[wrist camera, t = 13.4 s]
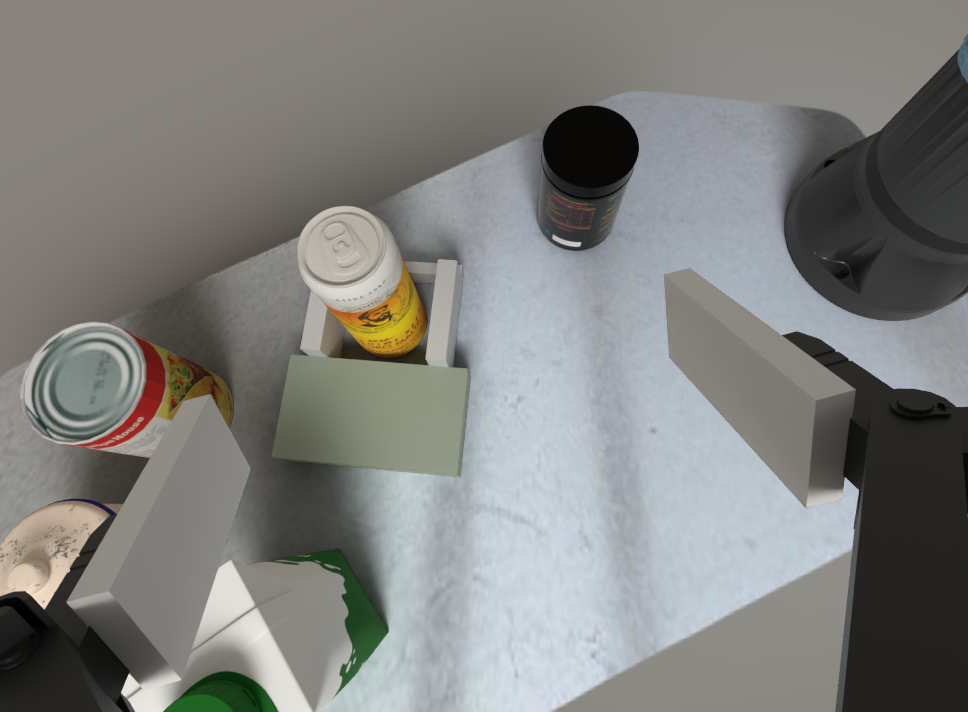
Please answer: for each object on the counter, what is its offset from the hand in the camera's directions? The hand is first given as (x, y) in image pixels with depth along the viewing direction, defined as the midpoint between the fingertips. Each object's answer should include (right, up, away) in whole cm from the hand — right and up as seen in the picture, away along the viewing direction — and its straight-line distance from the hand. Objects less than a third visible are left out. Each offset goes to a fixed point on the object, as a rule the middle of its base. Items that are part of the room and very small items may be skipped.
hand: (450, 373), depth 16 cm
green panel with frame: (-7, 0, +31) cm, 32 cm away
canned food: (-24, -4, +31) cm, 39 cm away
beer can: (-7, +3, +32) cm, 33 cm away
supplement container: (+9, +12, +34) cm, 37 cm away
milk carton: (-11, -19, +26) cm, 34 cm away
